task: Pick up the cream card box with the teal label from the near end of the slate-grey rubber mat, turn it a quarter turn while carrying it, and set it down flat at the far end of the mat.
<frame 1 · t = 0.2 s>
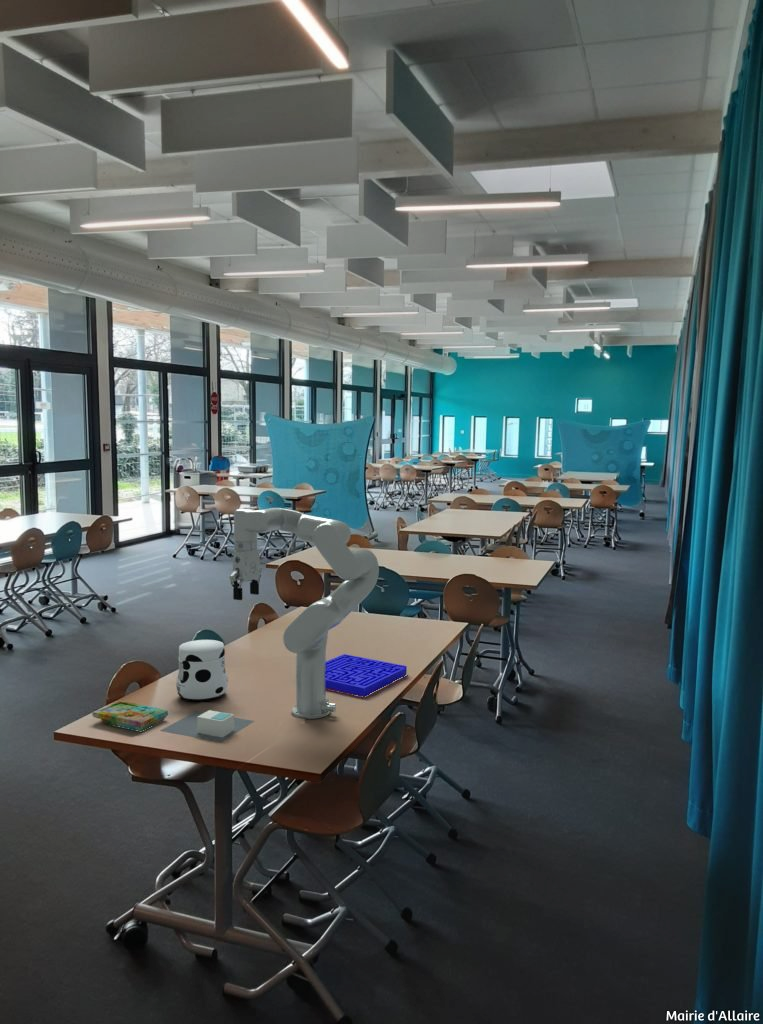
hand: (246, 596, 250), 36 cm above the table, tool pointing down, fingers open, 9 cm apart
puzzle game: (130, 723, 235), on the table
mat: (208, 727, 231), on the table
milk container: (202, 696, 260), on the table
card box: (215, 731, 226), point 1 cm above the table, touching mat
maze: (353, 680, 279), on the table
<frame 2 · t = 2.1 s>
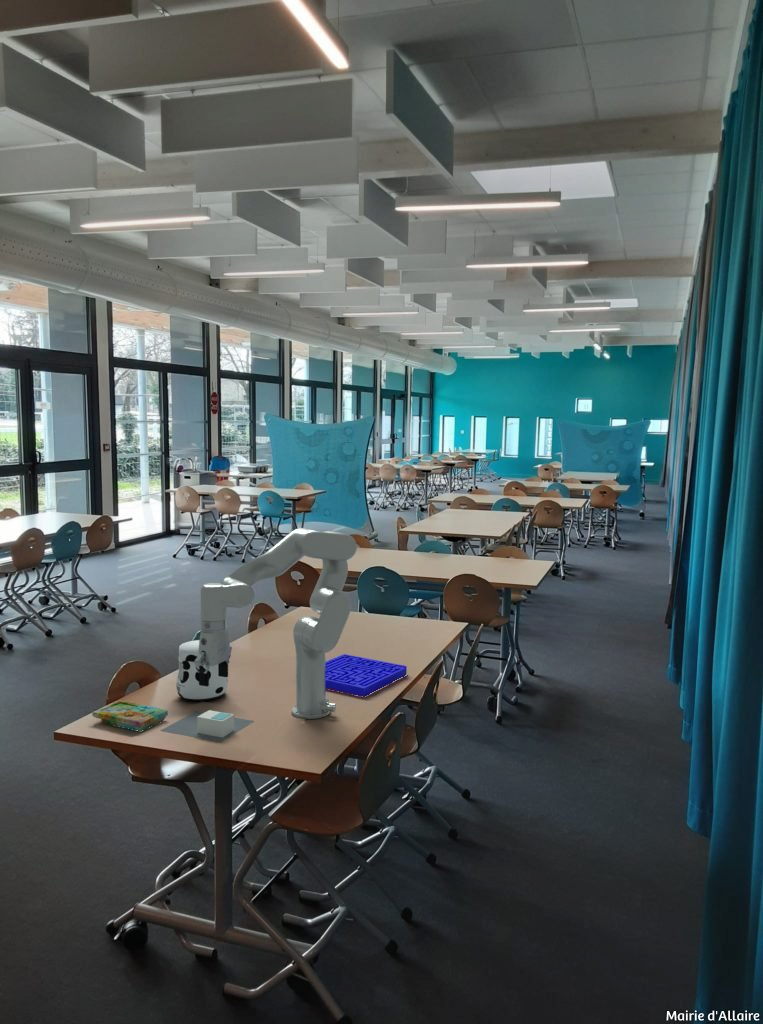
hand: (213, 681, 225), 16 cm above the table, tool pointing down, fingers open, 9 cm apart
nothing on the table moved.
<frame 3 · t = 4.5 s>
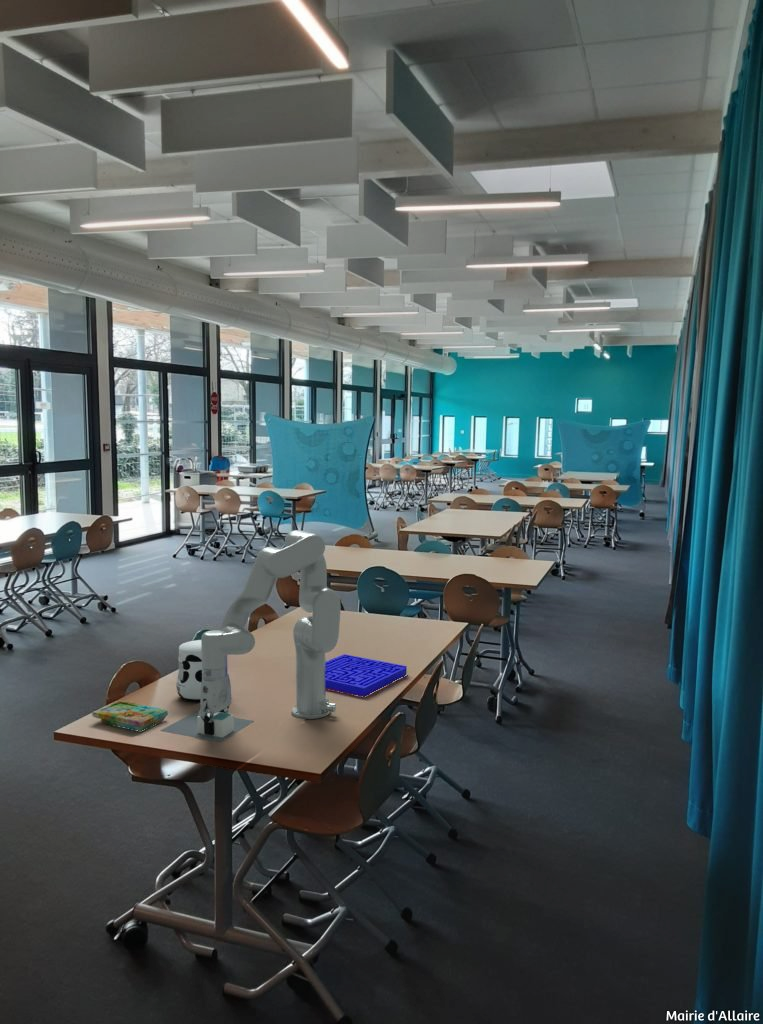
hand: (215, 729, 226), 1 cm above the table, tool pointing down, fingers closed on card box, 6 cm apart
card box: (215, 731, 226), point 1 cm above the table, touching gripper, mat
everything else where it was.
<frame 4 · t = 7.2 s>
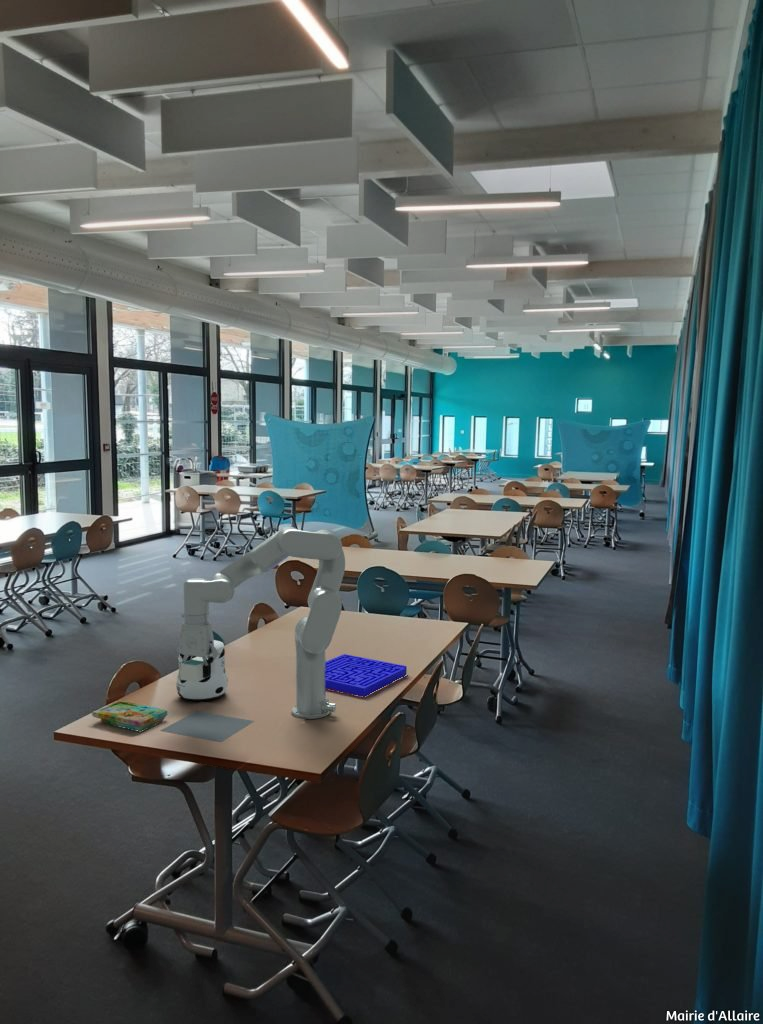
hand: (197, 674, 233), 16 cm above the table, tool pointing down, fingers closed on card box, 6 cm apart
card box: (198, 676, 233), point 15 cm above the table, touching gripper
everything else where it was.
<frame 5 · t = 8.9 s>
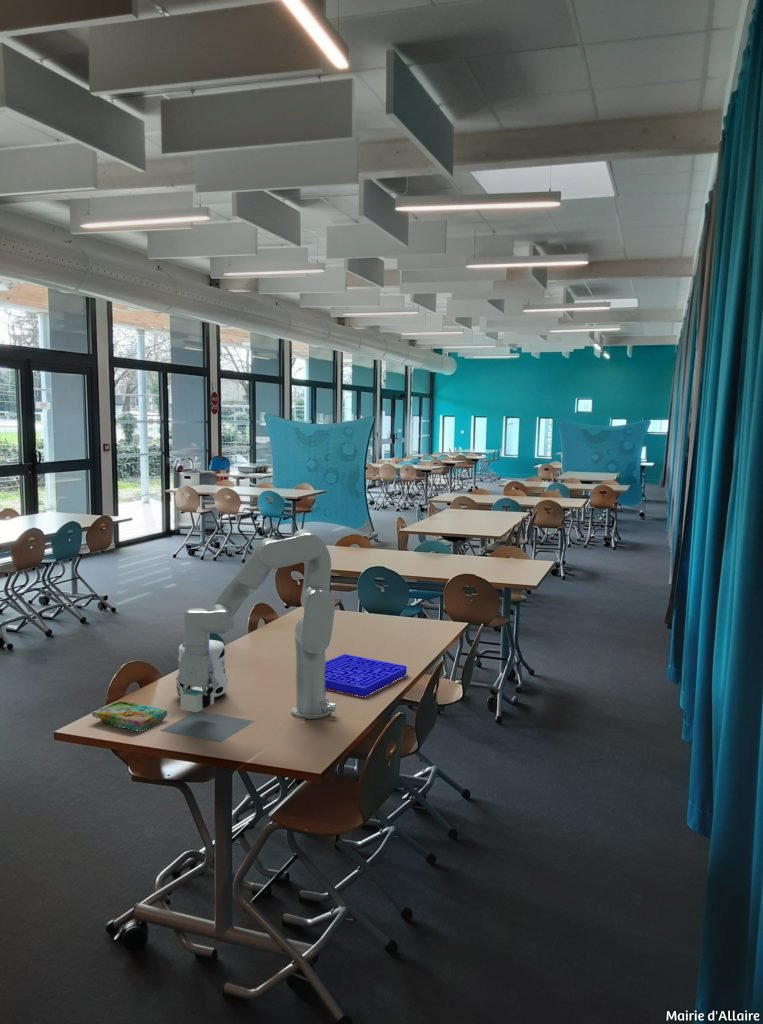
hand: (197, 704, 234), 6 cm above the table, tool pointing down, fingers closed on card box, 6 cm apart
card box: (197, 706, 234), point 5 cm above the table, touching gripper
everything else where it was.
when the fingers open (3 cm above the table, at t = 10.4 s): card box drops 2 cm, resting on mat.
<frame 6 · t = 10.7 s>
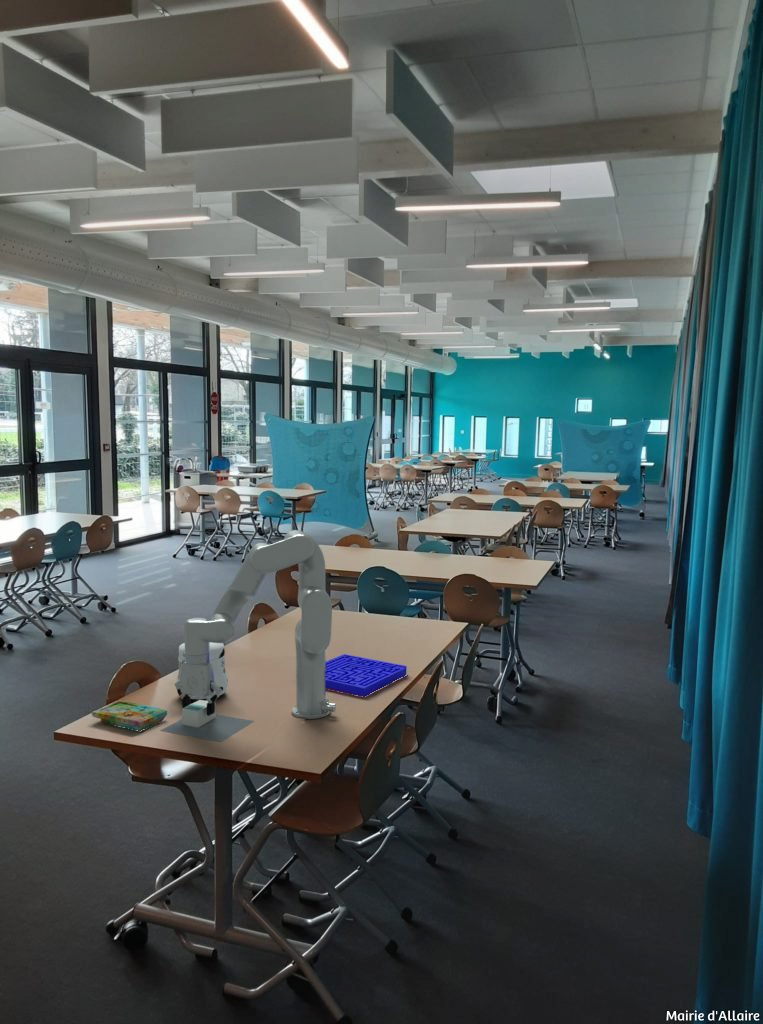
hand: (198, 711, 235), 4 cm above the table, tool pointing down, fingers open, 8 cm apart
card box: (199, 721, 235), point 1 cm above the table, touching mat
everything else where it was.
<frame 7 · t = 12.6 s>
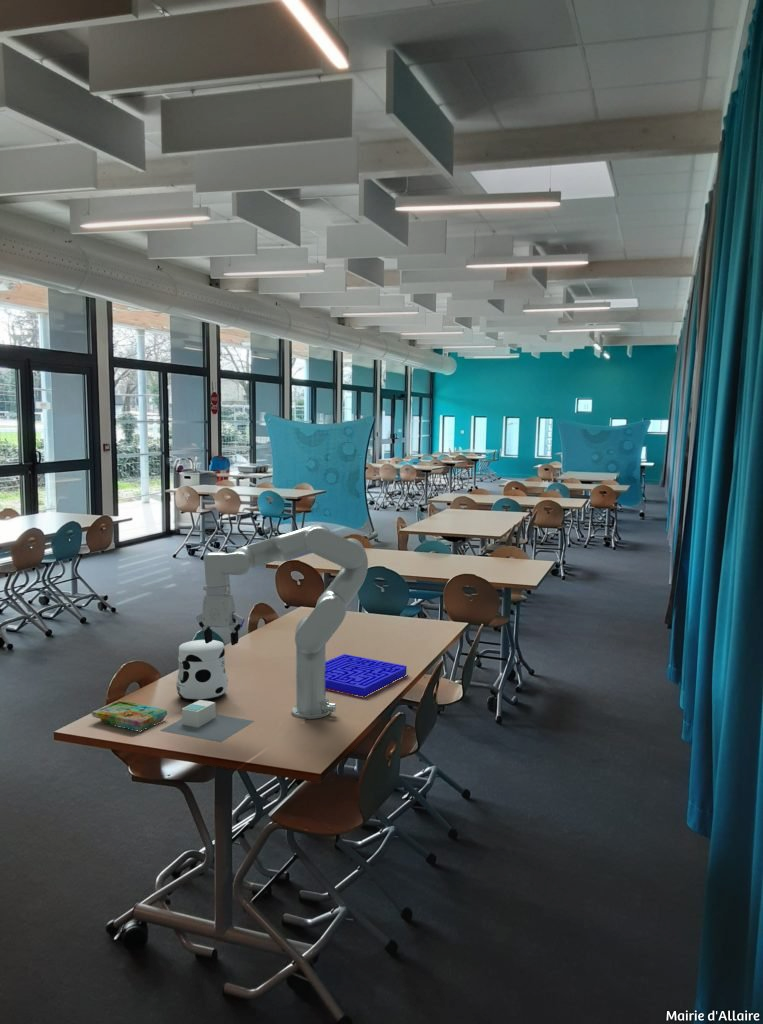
hand: (221, 643, 240), 24 cm above the table, tool pointing down, fingers open, 9 cm apart
nothing on the table moved.
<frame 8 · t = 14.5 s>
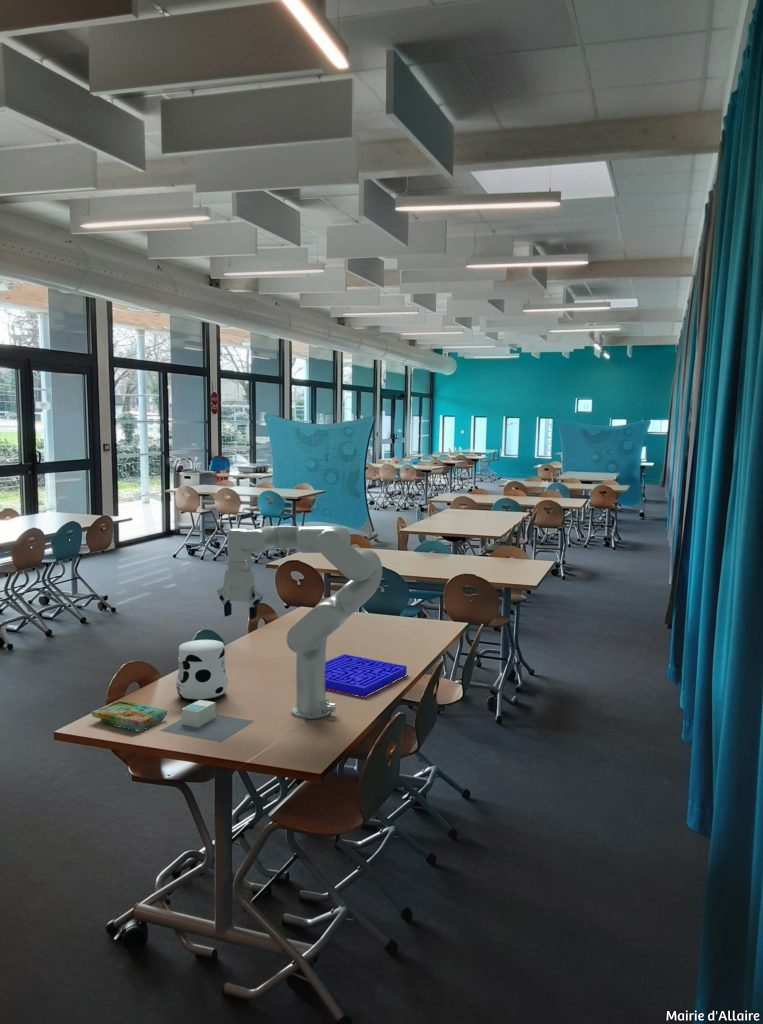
hand: (240, 617, 247), 30 cm above the table, tool pointing down, fingers open, 9 cm apart
nothing on the table moved.
at the end: card box inside the target area on the mat (0.6 cm from its centre), point 0.6 cm above the mat's base; card box tilted 0°; the gripper is holding nothing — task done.
